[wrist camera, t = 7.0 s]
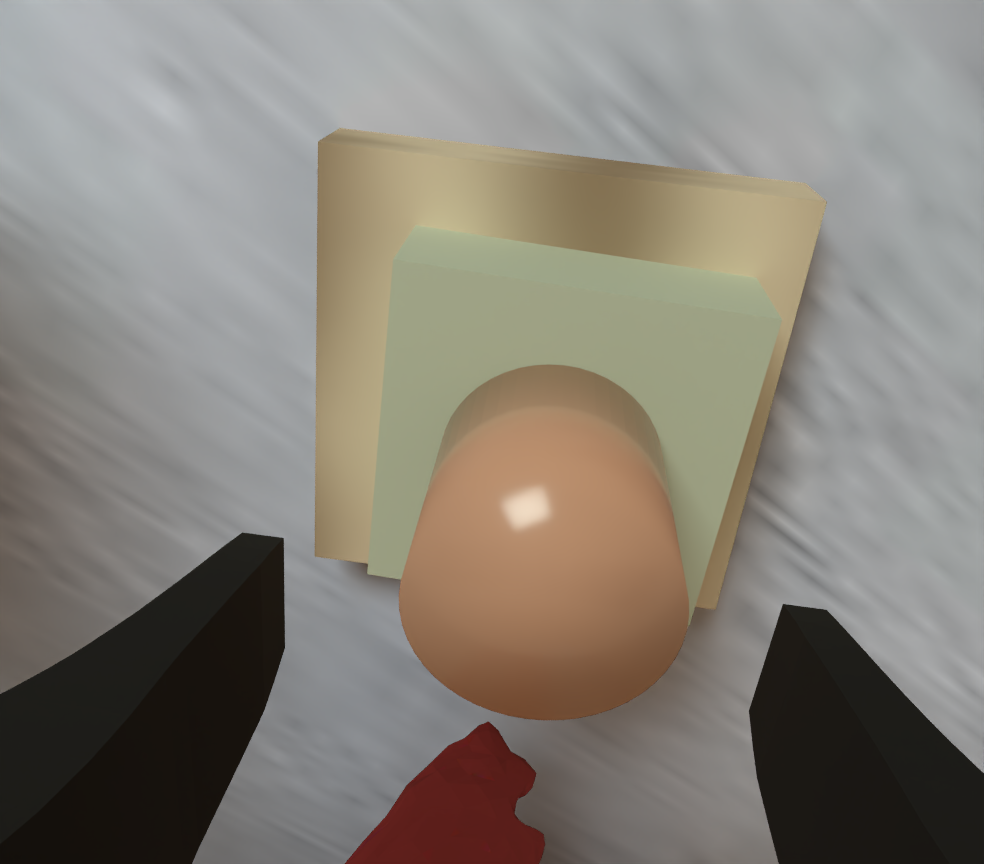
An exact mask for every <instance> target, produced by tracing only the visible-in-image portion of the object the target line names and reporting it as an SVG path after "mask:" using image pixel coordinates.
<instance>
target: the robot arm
mask: <svg viewBox="0 0 984 864" xmlns="http://www.w3.org/2000/svg"><path fill="white" fill-rule="evenodd" d="M284 649H285V615H284V538H279V537H271V536H264V535H256V534H249V533H241V534H240V535H239V536H237V537H236V538H235V539H233V540H232V541H230V542H229V543H228V544H226V545H225V546H224V547H222V548H221V549H220V550H218V551H217V552H216V553H214V554H213V555H212V556H211V557H209V558H208V559H207V560H205V561H204V562H203V563H201V564H200V565H199V566H198V567H196V568H195V569H194V570H192V571H191V572H190V573H188V574H187V575H186V576H185V577H183V578H182V579H181V580H179V581H178V582H177V583H175V584H174V585H173V586H171V587H170V588H169V589H167V590H166V591H165V592H163V593H162V594H160V595H159V596H158V597H156V598H155V599H154V600H152V601H151V602H150V603H148V604H147V605H145V606H144V607H143V608H141V609H140V610H139V611H137V612H136V613H134V614H133V615H132V616H130V617H129V618H127V619H126V620H124V621H123V622H121V623H120V624H118V625H117V626H115V627H114V628H112V629H111V630H109V631H108V632H106V633H105V634H103V635H102V636H100V637H98V638H97V639H95V640H94V641H92V642H91V643H89V644H88V645H86V646H85V647H83V648H82V649H80V650H78V651H77V652H75V653H74V654H72V655H70V656H69V657H67V658H65V659H64V660H62V661H60V662H58V663H57V664H55V665H53V666H52V667H50V668H48V669H46V670H44V671H43V672H41V673H39V674H37V675H35V676H33V677H32V678H30V679H28V680H26V681H24V682H22V683H21V684H19V685H17V686H15V687H13V688H11V689H9V690H8V691H6V692H4V693H2V694H0V864H192V862H193V860H194V858H195V855H196V853H197V851H198V848H199V846H200V844H201V842H202V840H203V838H204V836H205V834H206V832H207V830H208V828H209V825H210V823H211V821H212V819H213V817H214V815H215V813H216V811H217V809H218V807H219V805H220V802H221V800H222V798H223V796H224V794H225V792H226V790H227V788H228V786H229V784H230V782H231V780H232V778H233V775H234V773H235V771H236V769H237V767H238V765H239V763H240V761H241V759H242V757H243V755H244V752H245V750H246V748H247V746H248V744H249V742H250V740H251V738H252V735H253V733H254V731H255V729H256V727H257V725H258V723H259V721H260V718H261V716H262V714H263V712H264V710H265V707H266V704H267V701H268V698H269V695H270V692H271V689H272V686H273V683H274V680H275V677H276V674H277V671H278V668H279V665H280V661H281V658H282V655H283V652H284ZM749 715H750V724H751V733H752V742H753V751H754V758H755V766H756V773H757V779H758V783H759V788H760V792H761V796H762V800H763V804H764V808H765V812H766V816H767V820H768V824H769V828H770V832H771V835H772V839H773V843H774V847H775V851H776V855H777V858H778V862H779V864H984V773H983V772H982V771H981V770H979V769H978V768H977V767H976V766H975V765H974V764H973V763H972V762H971V761H970V760H969V759H968V758H967V757H966V756H965V755H964V754H963V753H962V752H961V751H960V750H958V749H957V748H956V747H955V746H954V745H953V744H952V743H951V742H950V741H949V740H948V739H947V738H946V737H945V736H944V735H943V734H942V733H941V732H940V731H939V730H938V729H937V728H936V727H935V726H934V725H933V724H932V723H931V722H930V721H929V720H928V719H927V718H926V717H925V716H924V715H923V713H922V712H921V711H920V710H919V709H918V708H917V707H916V706H915V705H914V704H913V703H912V702H911V701H910V700H909V699H908V698H907V697H906V696H905V695H904V694H903V692H902V691H901V690H900V689H899V688H898V687H897V686H896V685H895V684H894V683H893V682H892V681H891V679H890V678H889V677H888V676H887V675H886V674H885V673H884V672H883V671H882V670H881V669H880V667H879V666H878V665H877V664H876V663H875V662H874V661H873V660H872V659H871V658H870V656H869V655H868V654H867V653H866V652H865V651H864V650H863V649H862V648H861V646H860V645H859V644H858V643H857V642H856V641H855V640H854V639H853V638H852V637H851V635H850V634H849V633H848V632H847V631H846V630H845V629H844V628H843V627H842V626H841V625H840V624H839V622H838V621H837V620H836V619H835V618H834V617H833V616H832V615H831V614H830V613H829V612H828V611H827V610H824V609H816V608H808V607H801V606H793V605H786V604H783V606H782V609H781V612H780V615H779V618H778V621H777V625H776V628H775V631H774V634H773V637H772V640H771V643H770V647H769V650H768V653H767V656H766V659H765V662H764V665H763V669H762V672H761V675H760V678H759V681H758V684H757V687H756V691H755V694H754V697H753V700H752V703H751V706H750V709H749Z"/></svg>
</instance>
